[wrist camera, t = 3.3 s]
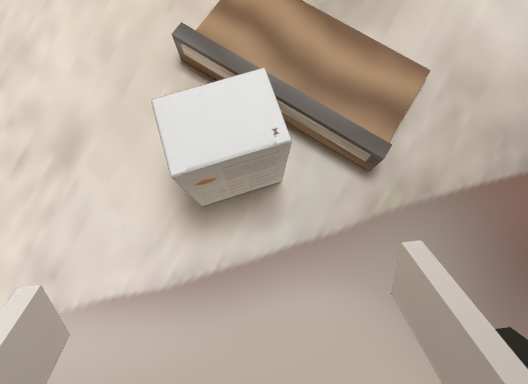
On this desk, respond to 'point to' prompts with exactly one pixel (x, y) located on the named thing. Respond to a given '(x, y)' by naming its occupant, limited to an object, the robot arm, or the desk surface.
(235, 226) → the desk surface
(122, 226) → the desk surface
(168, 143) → the small box
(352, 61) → the shelf board
